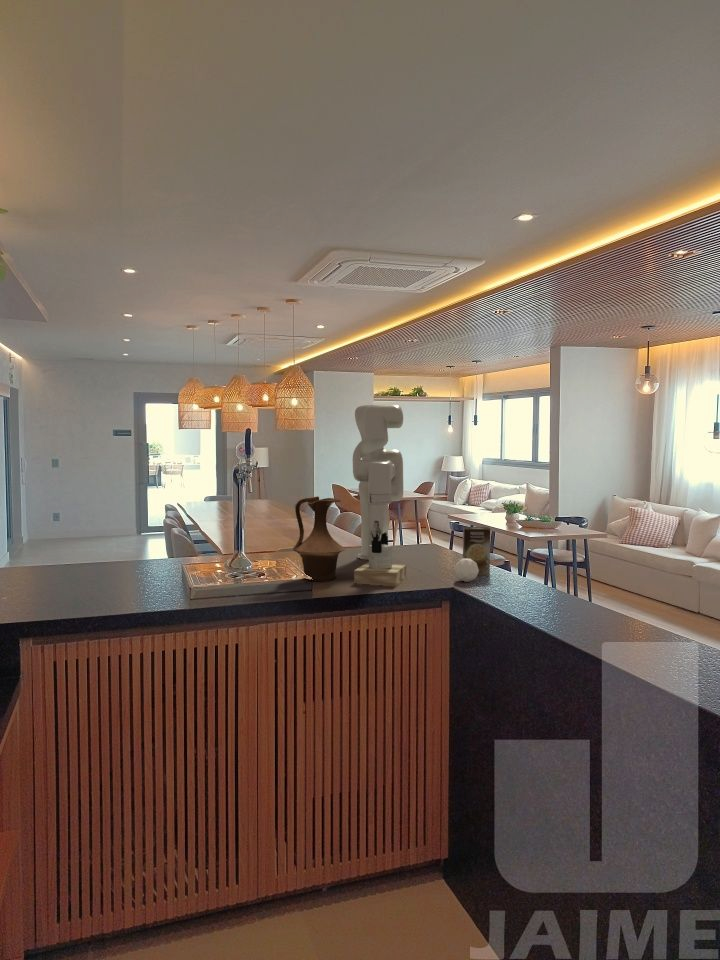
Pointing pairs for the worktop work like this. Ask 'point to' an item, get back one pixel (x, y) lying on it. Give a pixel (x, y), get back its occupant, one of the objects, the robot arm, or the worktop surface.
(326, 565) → the pitcher
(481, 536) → the coffee box
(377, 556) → the product box
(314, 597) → the worktop surface
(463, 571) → the geometric ball
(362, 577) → the birch block
